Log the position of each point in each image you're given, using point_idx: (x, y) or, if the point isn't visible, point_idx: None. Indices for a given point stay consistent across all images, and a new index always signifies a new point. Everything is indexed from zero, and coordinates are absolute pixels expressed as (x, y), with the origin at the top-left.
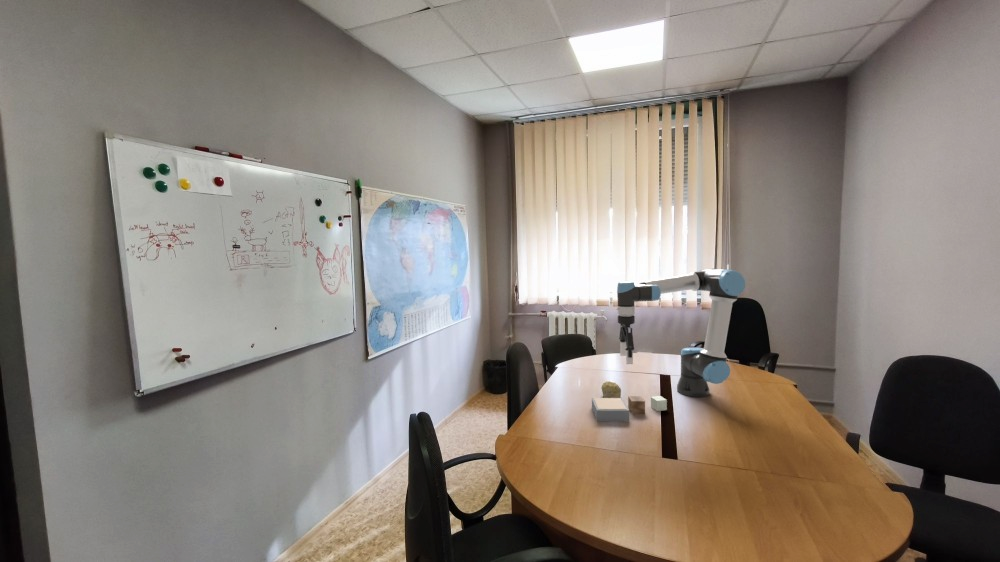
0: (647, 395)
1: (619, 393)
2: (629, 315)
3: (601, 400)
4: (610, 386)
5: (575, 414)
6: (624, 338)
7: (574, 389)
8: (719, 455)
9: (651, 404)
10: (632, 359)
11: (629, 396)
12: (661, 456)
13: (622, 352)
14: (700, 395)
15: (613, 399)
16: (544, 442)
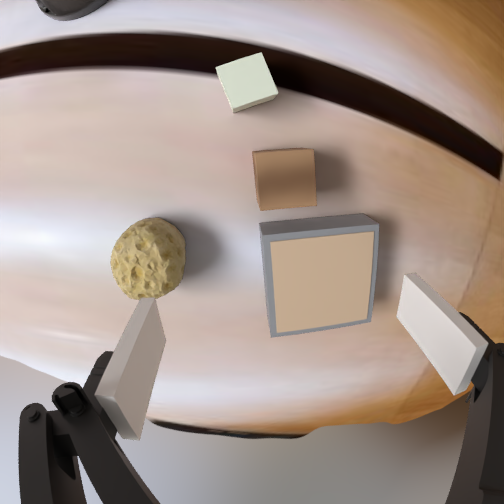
0: (118, 113)
1: (167, 229)
2: None
3: (297, 310)
4: (168, 276)
5: (314, 353)
6: (130, 469)
7: None
8: (486, 63)
9: (237, 110)
10: (436, 295)
11: (263, 206)
12: (497, 180)
13: (155, 346)
14: None
15: (285, 269)
16: (424, 379)
